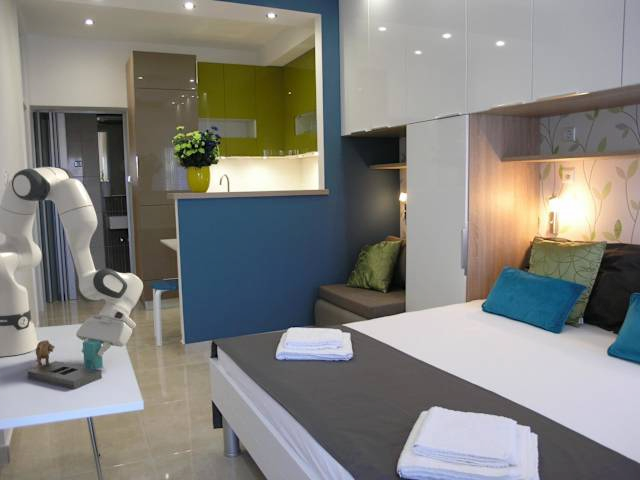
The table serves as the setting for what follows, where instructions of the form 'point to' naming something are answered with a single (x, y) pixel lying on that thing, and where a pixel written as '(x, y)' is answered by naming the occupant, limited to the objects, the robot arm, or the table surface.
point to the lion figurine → (43, 351)
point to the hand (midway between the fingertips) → (91, 354)
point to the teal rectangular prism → (92, 354)
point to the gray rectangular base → (64, 374)
